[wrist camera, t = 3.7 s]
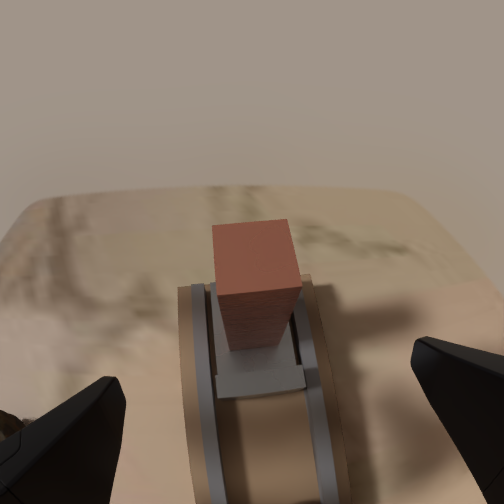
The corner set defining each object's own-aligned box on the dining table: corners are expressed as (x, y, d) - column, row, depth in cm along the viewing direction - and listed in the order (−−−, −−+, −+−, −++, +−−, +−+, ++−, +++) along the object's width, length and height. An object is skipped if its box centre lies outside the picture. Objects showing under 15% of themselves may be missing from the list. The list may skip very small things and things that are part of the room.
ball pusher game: (347, 540, 11) (373, 565, 7) (213, 560, 11) (204, 593, 6) (305, 286, 22) (319, 250, 18) (183, 298, 21) (167, 264, 17)
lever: (297, 391, 16) (344, 363, 8) (221, 401, 15) (197, 384, 8) (278, 282, 19) (298, 187, 12) (211, 289, 19) (190, 196, 12)
